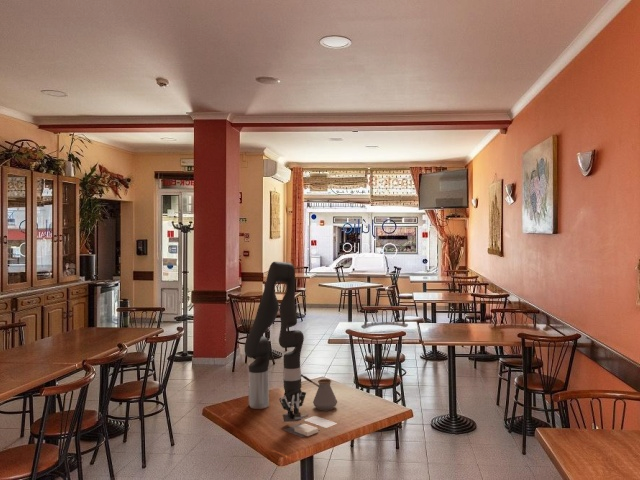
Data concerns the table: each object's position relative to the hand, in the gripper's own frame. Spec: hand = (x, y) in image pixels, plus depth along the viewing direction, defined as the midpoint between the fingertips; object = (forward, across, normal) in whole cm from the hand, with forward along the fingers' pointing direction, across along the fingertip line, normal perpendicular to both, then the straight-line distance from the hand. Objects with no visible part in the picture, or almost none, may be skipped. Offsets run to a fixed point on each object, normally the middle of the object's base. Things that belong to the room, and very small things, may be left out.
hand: (293, 417), depth 220 cm
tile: (+3, 0, +4) cm, 5 cm away
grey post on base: (+1, 0, +1) cm, 1 cm away
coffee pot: (+5, -26, -13) cm, 29 cm away
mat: (+5, 0, +5) cm, 7 cm away
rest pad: (+5, -12, +4) cm, 13 cm away
